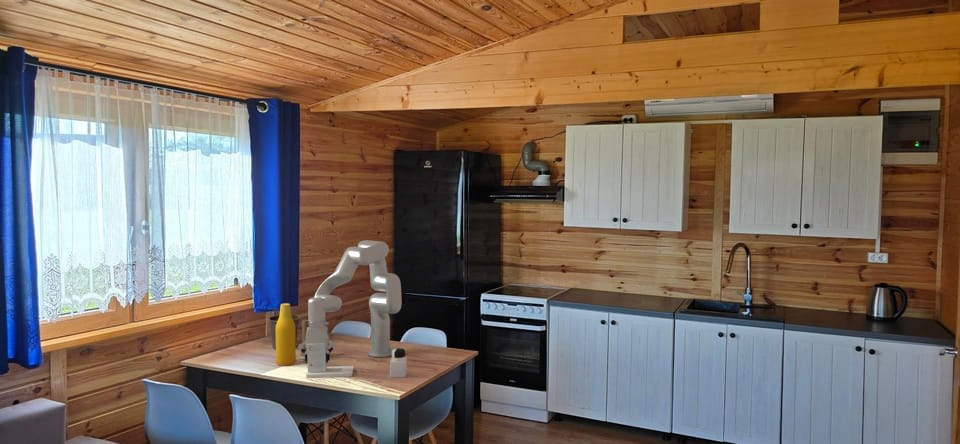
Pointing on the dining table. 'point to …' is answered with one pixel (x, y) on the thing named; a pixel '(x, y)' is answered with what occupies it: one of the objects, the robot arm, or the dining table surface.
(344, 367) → the board
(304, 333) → the wooden block
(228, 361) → the dining table surface
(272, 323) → the plant pot
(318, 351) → the small box
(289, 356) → the beer bottle
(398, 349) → the medicine bottle
